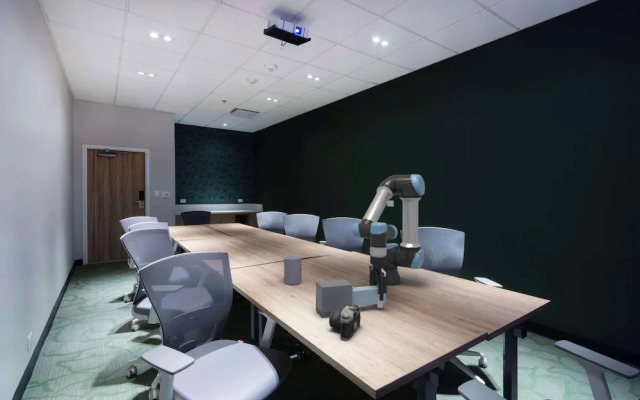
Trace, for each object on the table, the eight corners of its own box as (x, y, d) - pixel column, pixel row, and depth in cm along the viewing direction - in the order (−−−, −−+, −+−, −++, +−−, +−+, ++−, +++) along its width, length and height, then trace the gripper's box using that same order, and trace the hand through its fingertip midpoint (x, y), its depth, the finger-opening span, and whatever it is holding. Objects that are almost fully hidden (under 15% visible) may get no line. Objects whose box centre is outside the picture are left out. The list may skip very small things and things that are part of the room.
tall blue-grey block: (380, 299, 146) (380, 285, 145) (385, 303, 141) (386, 288, 141) (345, 303, 140) (345, 288, 140) (349, 306, 135) (350, 291, 135)
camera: (339, 320, 128) (339, 297, 127) (362, 325, 123) (363, 301, 123) (323, 336, 113) (323, 309, 113) (349, 342, 109) (349, 314, 109)
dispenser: (345, 307, 142) (345, 279, 142) (353, 314, 134) (353, 284, 134) (315, 310, 138) (316, 281, 138) (321, 318, 129) (322, 287, 129)
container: (304, 283, 179) (304, 258, 179) (289, 286, 173) (289, 260, 173) (295, 279, 187) (296, 255, 187) (280, 281, 182) (281, 257, 181)
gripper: (362, 252, 149) (361, 299, 150) (380, 260, 132) (379, 313, 133) (376, 251, 152) (375, 297, 152) (395, 259, 134) (394, 311, 135)
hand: (377, 304), depth 142 cm, fingers closed on tall blue-grey block, 5 cm apart
